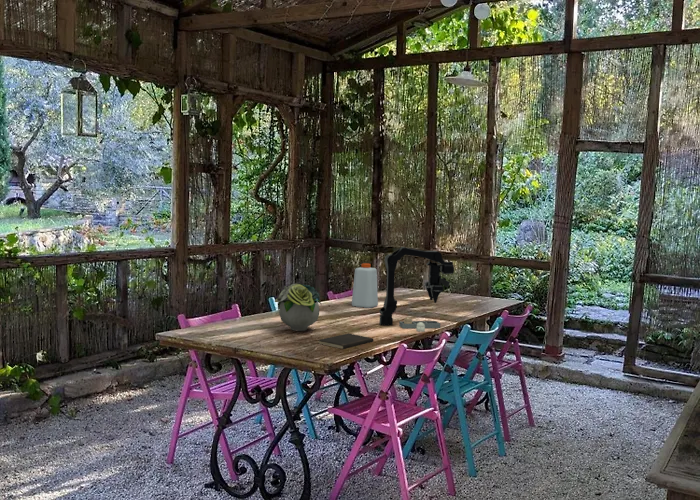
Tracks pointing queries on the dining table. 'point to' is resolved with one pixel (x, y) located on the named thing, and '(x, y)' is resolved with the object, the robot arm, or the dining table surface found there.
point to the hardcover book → (345, 341)
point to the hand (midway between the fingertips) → (433, 301)
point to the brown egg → (407, 320)
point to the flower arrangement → (298, 306)
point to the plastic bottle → (365, 287)
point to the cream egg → (420, 327)
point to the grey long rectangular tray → (414, 323)
